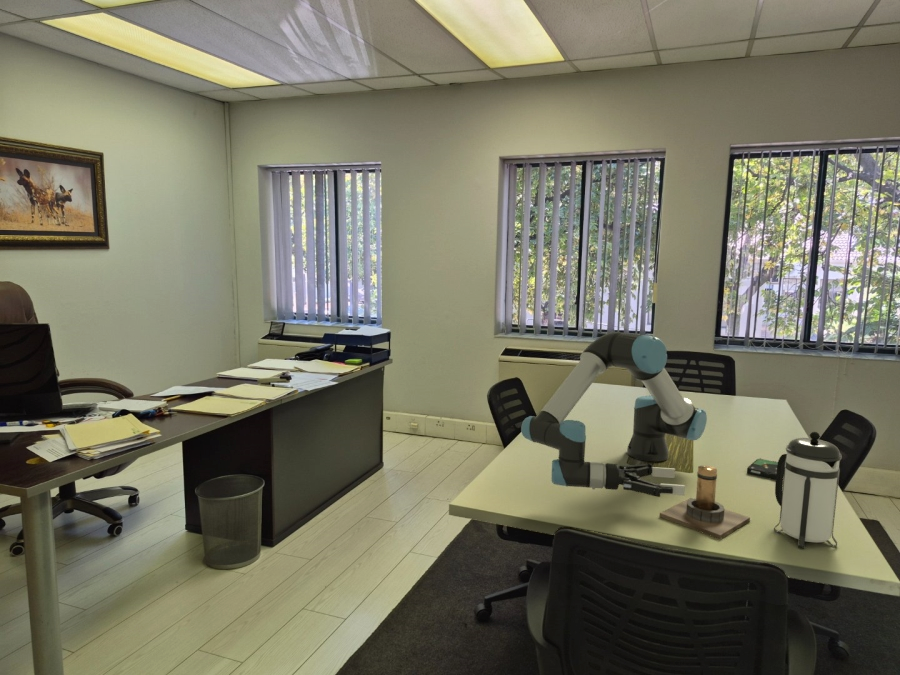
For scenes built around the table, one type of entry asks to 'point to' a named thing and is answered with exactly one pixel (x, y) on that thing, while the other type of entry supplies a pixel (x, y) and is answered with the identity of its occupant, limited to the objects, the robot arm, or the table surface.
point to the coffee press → (808, 489)
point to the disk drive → (763, 468)
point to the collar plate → (705, 526)
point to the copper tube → (706, 488)
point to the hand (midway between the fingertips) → (679, 481)
